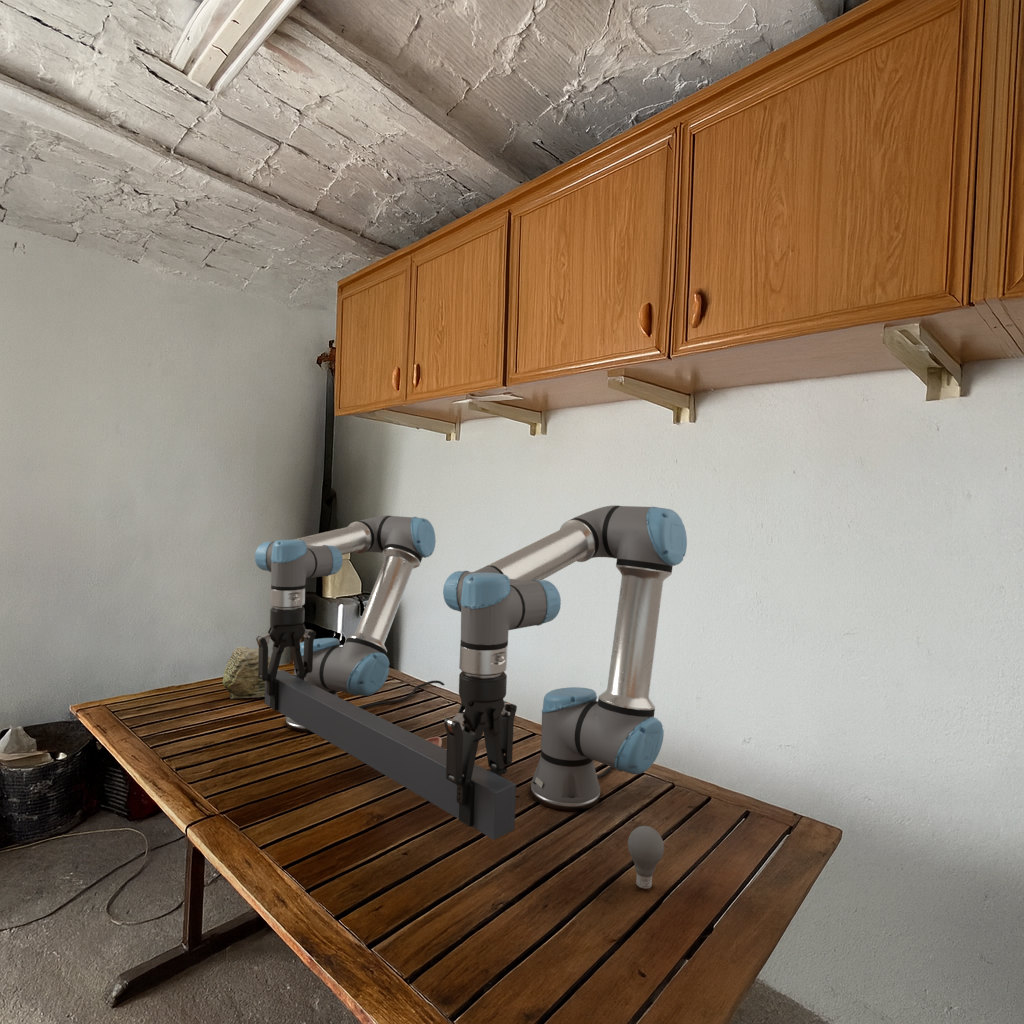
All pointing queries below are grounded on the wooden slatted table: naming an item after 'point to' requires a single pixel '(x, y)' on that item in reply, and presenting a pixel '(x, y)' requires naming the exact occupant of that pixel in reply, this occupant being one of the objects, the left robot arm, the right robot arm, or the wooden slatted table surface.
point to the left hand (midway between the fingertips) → (285, 706)
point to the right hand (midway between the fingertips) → (478, 816)
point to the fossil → (244, 674)
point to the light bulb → (645, 853)
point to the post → (395, 753)
